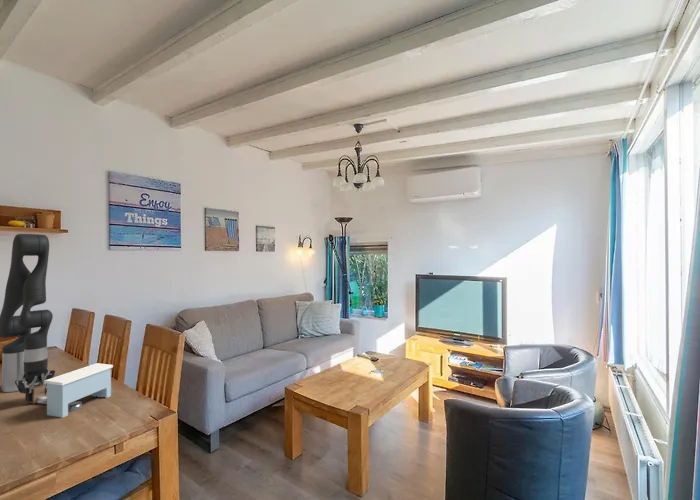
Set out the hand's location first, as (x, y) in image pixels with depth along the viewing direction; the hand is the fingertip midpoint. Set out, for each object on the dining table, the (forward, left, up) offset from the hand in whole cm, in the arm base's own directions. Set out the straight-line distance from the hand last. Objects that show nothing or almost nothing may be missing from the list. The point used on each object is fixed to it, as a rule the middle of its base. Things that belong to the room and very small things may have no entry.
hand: (35, 399), depth 146 cm
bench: (+21, +3, -1) cm, 21 cm away
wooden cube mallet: (+6, 0, -1) cm, 6 cm away
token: (+21, 0, -2) cm, 21 cm away
